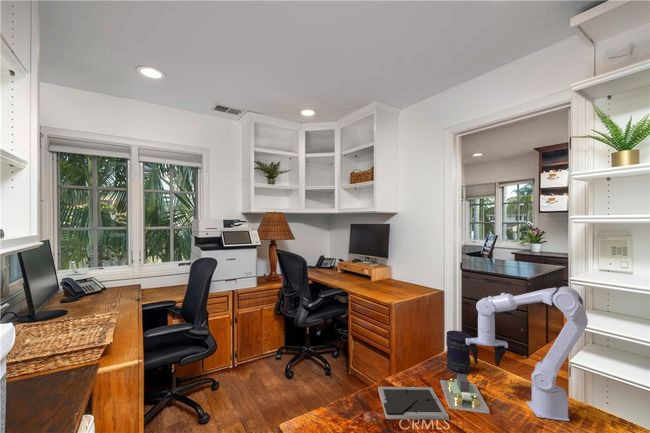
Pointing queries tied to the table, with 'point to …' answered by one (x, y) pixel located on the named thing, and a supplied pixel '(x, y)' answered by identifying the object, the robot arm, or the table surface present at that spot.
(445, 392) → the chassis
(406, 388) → the picture frame
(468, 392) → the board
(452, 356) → the storage jar
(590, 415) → the table surface
